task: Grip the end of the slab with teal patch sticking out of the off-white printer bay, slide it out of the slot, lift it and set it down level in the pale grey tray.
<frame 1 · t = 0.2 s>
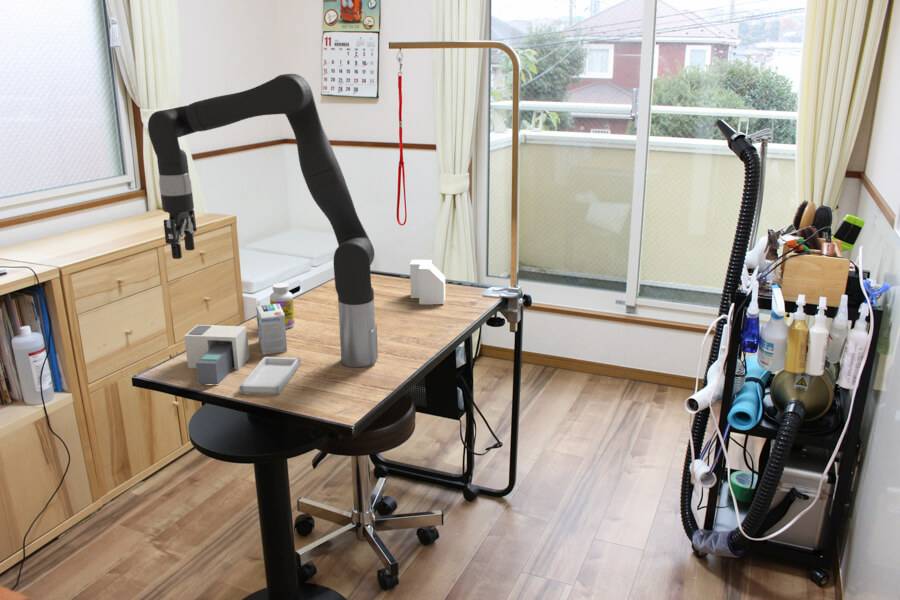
hand: (184, 254, 192), 28 cm above the table, tool pointing down, fingers open, 8 cm apart
printer bay: (228, 363, 196), on the table
light bulb box: (273, 347, 207), on the table
supplement bottle: (283, 326, 223), on the table
tray: (271, 378, 187), on the table
slab with teal patch: (218, 374, 190), on the table
corner bracket: (427, 299, 246), on the table
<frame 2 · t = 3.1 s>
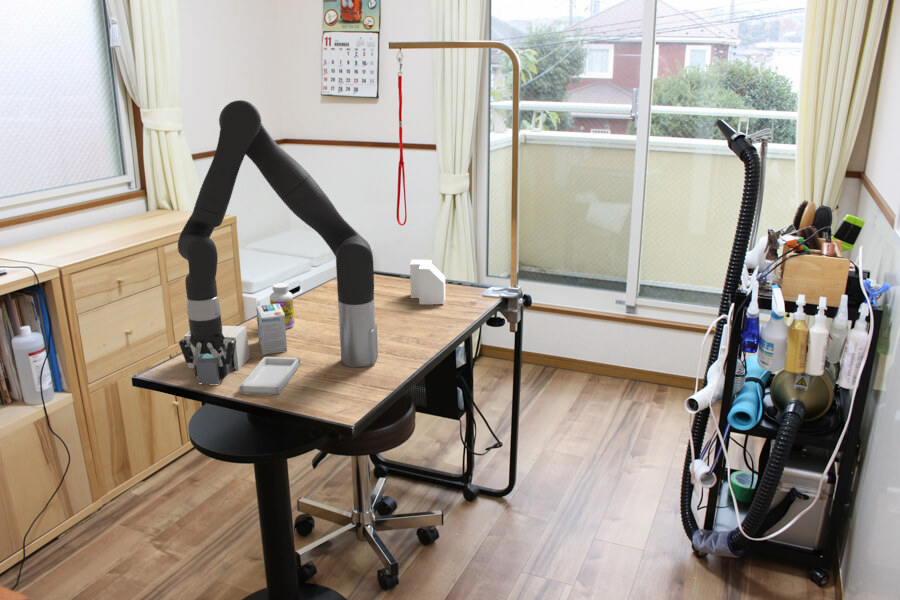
hand: (211, 377, 186), 1 cm above the table, tool pointing down, fingers closed on slab with teal patch, 5 cm apart
slab with teal patch: (218, 374, 190), on the table, touching gripper
everything else where it was.
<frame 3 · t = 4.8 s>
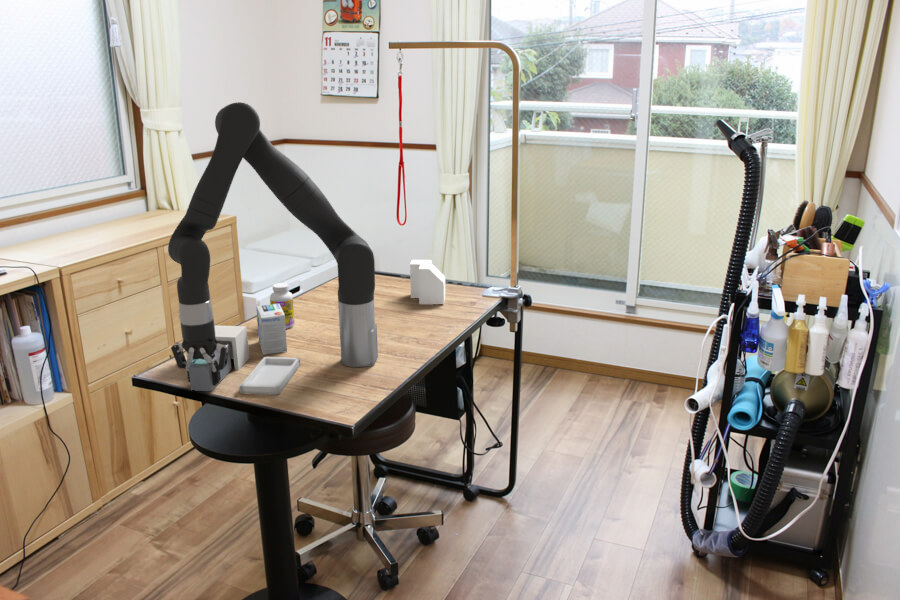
hand: (204, 383, 181), 1 cm above the table, tool pointing down, fingers closed on slab with teal patch, 5 cm apart
slab with teal patch: (211, 379, 185), point 1 cm above the table, touching gripper
everything else where it was.
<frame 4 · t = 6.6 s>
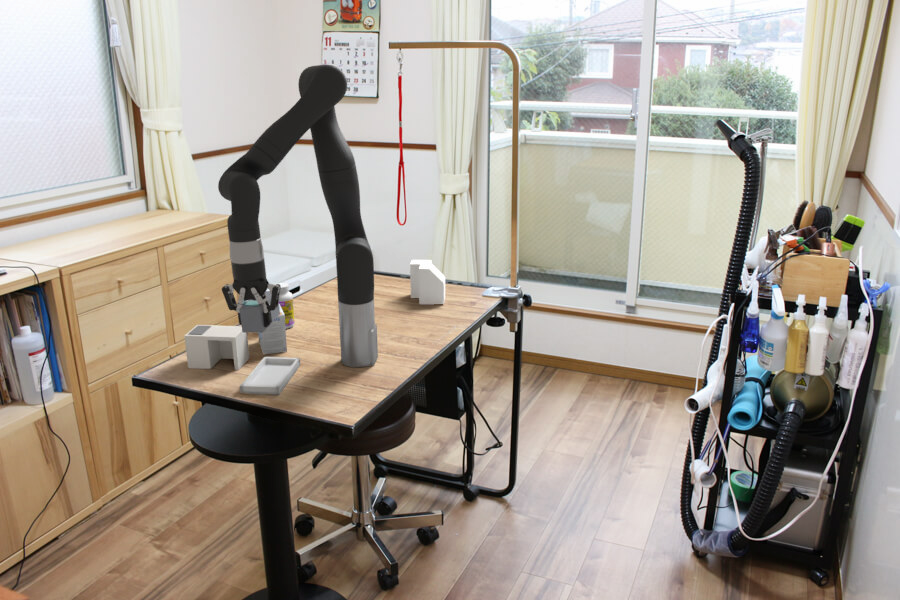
hand: (255, 325, 178), 16 cm above the table, tool pointing down, fingers closed on slab with teal patch, 5 cm apart
slab with teal patch: (261, 322, 182), point 15 cm above the table, touching gripper
everything else where it was.
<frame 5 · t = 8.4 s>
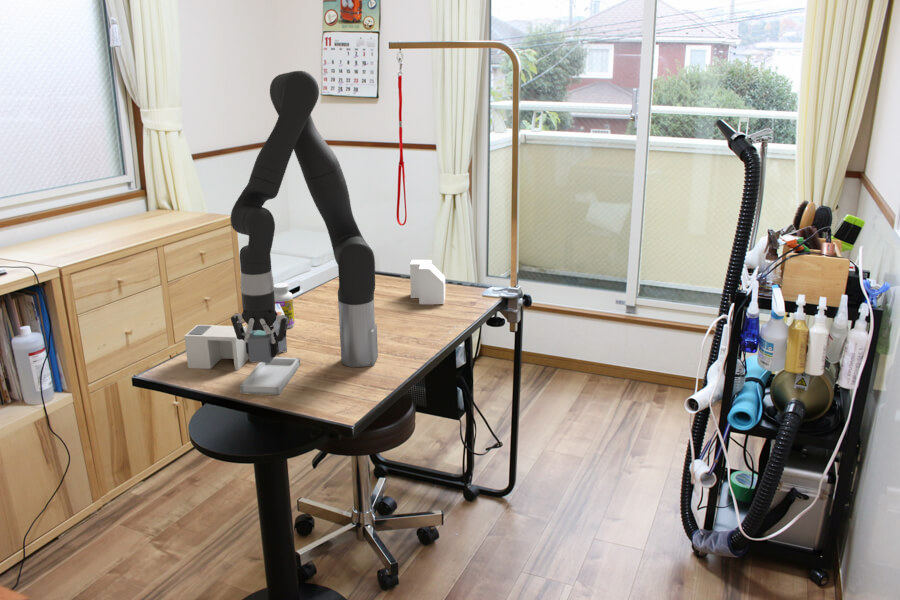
hand: (262, 355, 181), 8 cm above the table, tool pointing down, fingers closed on slab with teal patch, 5 cm apart
slab with teal patch: (268, 351, 185), point 7 cm above the table, touching gripper
everything else where it was.
when the fingers open (3 cm above the table, at t = 9.9 s): slab with teal patch drops 1 cm, resting on tray.
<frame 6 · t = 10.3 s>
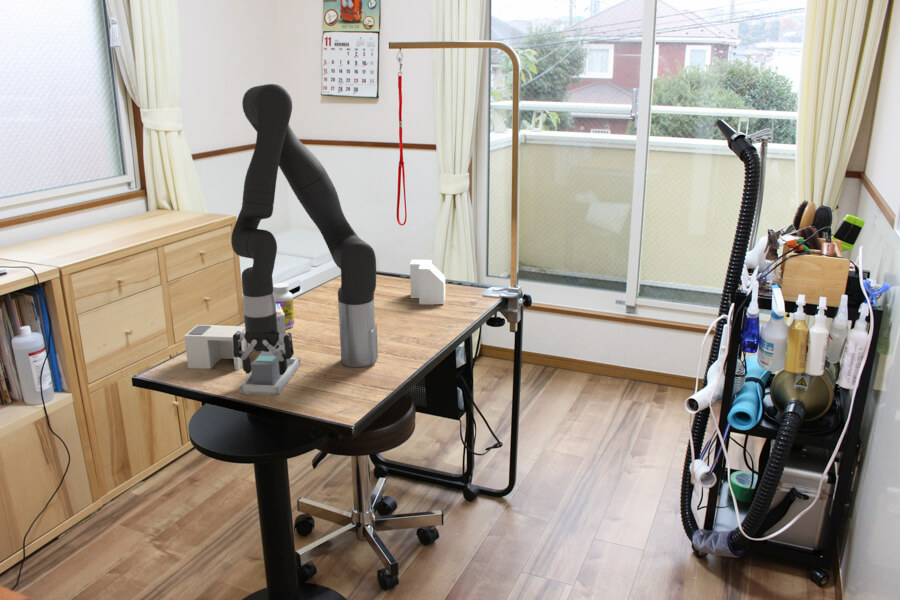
hand: (265, 373, 182), 3 cm above the table, tool pointing down, fingers open, 8 cm apart
slab with teal patch: (271, 376, 187), point 1 cm above the table, touching tray
everything else where it was.
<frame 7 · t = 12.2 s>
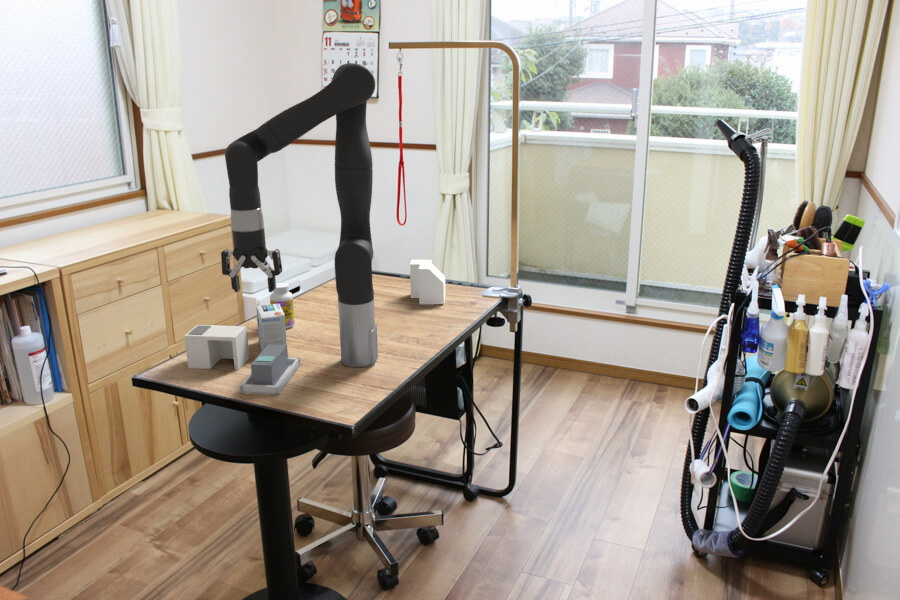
hand: (254, 291, 183), 22 cm above the table, tool pointing down, fingers open, 8 cm apart
nothing on the table moved.
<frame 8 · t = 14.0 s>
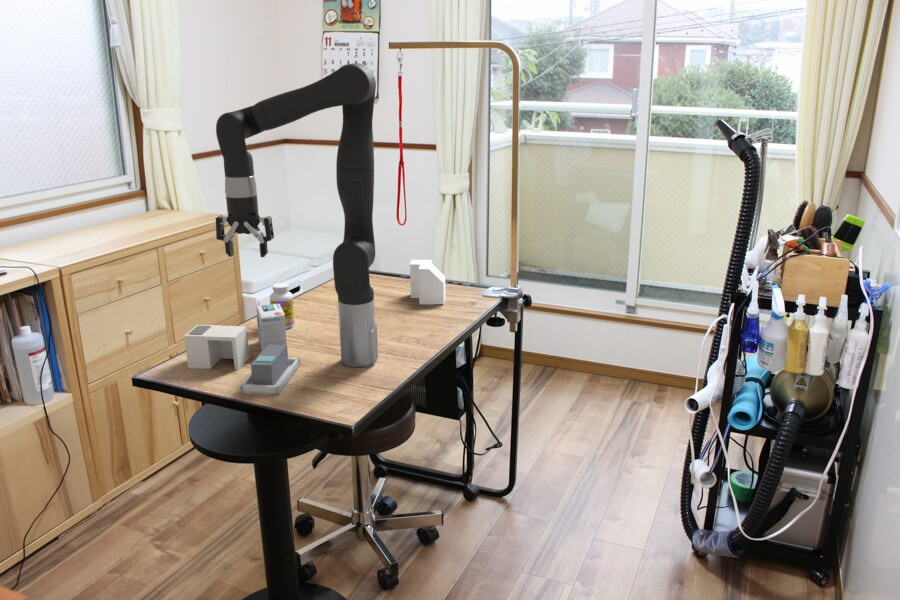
hand: (247, 256, 191), 28 cm above the table, tool pointing down, fingers open, 8 cm apart
nothing on the table moved.
at the end: slab with teal patch inside the target area on the tray (0.1 cm from its centre), point 0.6 cm above the tray's base; slab with teal patch tilted 0°; the gripper is holding nothing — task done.
